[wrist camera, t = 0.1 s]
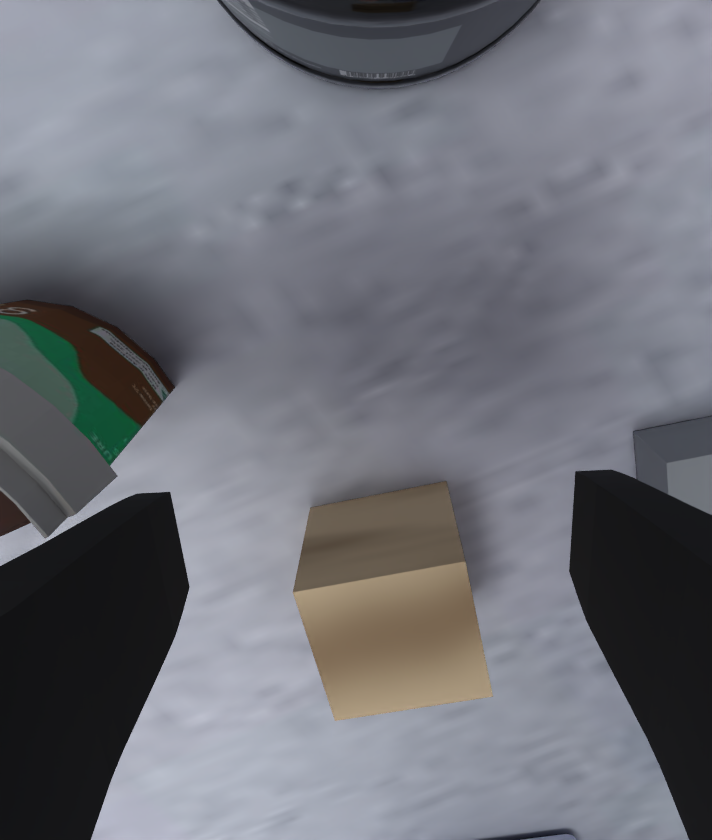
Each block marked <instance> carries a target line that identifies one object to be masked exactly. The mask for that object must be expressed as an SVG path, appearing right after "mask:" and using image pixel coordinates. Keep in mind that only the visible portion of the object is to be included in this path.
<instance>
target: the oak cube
mask: <svg viewBox="0 0 712 840" xmlns="http://www.w3.org/2000/svg"><path fill="white" fill-rule="evenodd" d="M293 594H294V597H295V600H296V603H297V606H298V609H299V612H300V616H301V619H302V622H303V625H304V628H305V631H306V634H307V637H308V640H309V643H310V646H311V649H312V652H313V655H314V658H315V661H316V664H317V667H318V670H319V673H320V676H321V679H322V682H323V686H324V689H325V692H326V695H327V698H328V701H329V704H330V707H331V710H332V713H333V716H334V719H335V721H337V720H344V719H350V718H357V717H363V716H370V715H376V714H383V713H389V712H396V711H402V710H409V709H415V708H422V707H428V706H435V705H441V704H448V703H454V702H461V701H467V700H474V699H480V698H487V697H493V695H492V690H491V685H490V680H489V675H488V670H487V665H486V660H485V655H484V650H483V645H482V641H481V636H480V631H479V626H478V621H477V616H476V611H475V606H474V601H473V596H472V591H471V586H470V581H469V577H468V572H467V567H466V562H465V558H464V553H463V549H462V545H461V541H460V537H459V532H458V528H457V524H456V520H455V516H454V511H453V507H452V503H451V499H450V495H449V490H448V486H447V482H446V481H444V482H439V483H434V484H429V485H424V486H419V487H414V488H408V489H403V490H398V491H393V492H388V493H383V494H378V495H373V496H368V497H362V498H357V499H352V500H347V501H342V502H337V503H332V504H327V505H322V506H316V507H311V508H310V512H309V516H308V521H307V526H306V531H305V536H304V541H303V546H302V551H301V555H300V560H299V565H298V570H297V575H296V580H295V585H294V589H293Z"/></svg>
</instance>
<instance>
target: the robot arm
mask: <svg viewBox="0 0 712 840" xmlns="http://www.w3.org/2000/svg"><path fill="white" fill-rule="evenodd" d="M569 572H570V575H571V578H572V581H573V584H574V587H575V590H576V593H577V596H578V599H579V602H580V604H581V607H582V610H583V613H584V615H585V618H586V621H587V623H588V625H589V627H590V629H591V631H592V633H593V635H594V637H595V639H596V641H597V643H598V645H599V647H600V649H601V650H602V652H603V654H604V656H605V658H606V660H607V662H608V664H609V666H610V668H611V670H612V672H613V674H614V676H615V678H616V679H617V681H618V683H619V685H620V687H621V689H622V691H623V693H624V695H625V697H626V699H627V701H628V702H629V704H630V706H631V708H632V710H633V712H634V714H635V716H636V718H637V720H638V722H639V724H640V726H641V727H642V729H643V731H644V733H645V735H646V737H647V739H648V741H649V743H650V746H651V748H652V750H653V752H654V754H655V756H656V758H657V761H658V763H659V765H660V767H661V770H662V772H663V775H664V777H665V780H666V782H667V785H668V787H669V790H670V792H671V795H672V797H673V800H674V802H675V805H676V807H677V810H678V812H679V815H680V817H681V820H682V822H683V825H684V827H685V830H686V832H687V835H688V838H689V840H712V515H710V514H708V513H706V512H704V511H702V510H700V509H698V508H695V507H693V506H691V505H689V504H687V503H685V502H683V501H681V500H679V499H677V498H675V497H673V496H670V495H668V494H666V493H664V492H662V491H660V490H658V489H656V488H654V487H652V486H650V485H648V484H645V483H643V482H641V481H639V480H637V479H635V478H632V477H630V476H628V475H625V474H623V473H620V472H617V471H614V470H595V471H576V472H575V488H574V504H573V520H572V536H571V552H570V569H569ZM188 591H189V583H188V578H187V573H186V568H185V563H184V558H183V553H182V548H181V543H180V538H179V533H178V528H177V523H176V518H175V514H174V509H173V504H172V499H171V494H170V492H161V493H141V494H135V495H133V496H130V497H128V498H125V499H123V500H121V501H119V502H117V503H115V504H113V505H111V506H109V507H108V508H106V509H104V510H102V511H100V512H98V513H97V514H95V515H93V516H91V517H90V518H88V519H86V520H84V521H82V522H81V523H79V524H77V525H75V526H74V527H72V528H70V529H68V530H66V531H65V532H63V533H61V534H59V535H58V536H56V537H54V538H52V539H51V540H49V541H47V542H45V543H43V544H42V545H40V546H38V547H36V548H34V549H32V550H30V551H28V552H26V553H25V554H23V555H21V556H19V557H17V558H15V559H13V560H11V561H9V562H7V563H6V564H4V565H2V566H0V840H91V837H92V834H93V831H94V828H95V825H96V822H97V819H98V817H99V814H100V811H101V808H102V805H103V802H104V799H105V796H106V793H107V790H108V787H109V784H110V782H111V779H112V776H113V774H114V772H115V769H116V767H117V764H118V762H119V759H120V757H121V754H122V752H123V750H124V748H125V745H126V743H127V741H128V739H129V737H130V735H131V732H132V730H133V728H134V726H135V724H136V722H137V719H138V717H139V715H140V713H141V711H142V708H143V706H144V704H145V702H146V700H147V698H148V695H149V693H150V691H151V689H152V687H153V685H154V682H155V680H156V678H157V676H158V674H159V672H160V669H161V667H162V665H163V663H164V660H165V658H166V656H167V654H168V651H169V649H170V647H171V645H172V642H173V640H174V638H175V635H176V632H177V629H178V626H179V622H180V619H181V616H182V613H183V609H184V605H185V602H186V598H187V594H188ZM522 840H576V838H575V837H574V836H572V835H569V834H561V835H554V836H546V837H538V838H530V839H522Z"/></svg>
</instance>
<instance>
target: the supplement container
mask: <svg viewBox="0 0 712 840" xmlns="http://www.w3.org/2000/svg"><path fill="white" fill-rule="evenodd" d="M217 1H218V2H219V4H220V5H221V6H222V7H223V8H224V10H225V11H226V12H227V13H228V14H229V15H230V16H231V18H232V19H233V20H234V21H235V22H236V23H237V25H238V26H239V27H241V28H242V29H243V30H244V31H245V32H246V33H247V34H248V35H249V36H250V37H251V38H252V39H253V40H254V41H255V42H257V43H258V44H259V45H261V46H262V47H263V48H265V49H266V50H267V51H268V52H270V53H271V54H272V55H274V56H275V57H277V58H278V59H280V60H282V61H283V62H285V63H287V64H288V65H290V66H292V67H293V68H296V69H298V70H300V71H302V72H304V73H306V74H308V75H311V76H313V77H316V78H319V79H322V80H325V81H328V82H331V83H336V84H340V85H345V86H350V87H359V88H370V89H377V88H396V87H403V86H410V85H415V84H419V83H422V82H426V81H430V80H433V79H436V78H439V77H441V76H444V75H446V74H449V73H451V72H454V71H456V70H457V69H459V68H461V67H463V66H465V65H467V64H469V63H471V62H473V61H474V60H476V59H477V58H479V57H480V56H482V55H483V54H485V53H486V52H488V51H489V50H491V49H492V48H493V47H494V46H496V45H497V44H498V43H499V42H500V41H502V40H503V39H504V38H505V37H507V36H508V35H509V34H510V33H511V32H512V31H513V30H514V29H515V28H516V27H517V26H518V25H519V24H520V23H521V22H522V21H523V20H524V19H525V18H526V17H527V16H528V15H529V14H530V13H531V12H532V11H533V9H534V8H535V7H536V6H537V4H538V3H539V2H540V1H541V0H217Z"/></svg>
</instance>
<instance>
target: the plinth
mask: <svg viewBox="0 0 712 840" xmlns="http://www.w3.org/2000/svg"><path fill="white" fill-rule="evenodd" d="M633 433H634V445H635V457H636V470H637V480H639V481H641V482H643V483H645V484H648V485H650V486H652V487H654V488H656V489H658V490H660V491H662V492H664V493H666V494H668V495H670V496H673V497H675V498H677V499H679V500H681V501H683V502H685V503H687V504H689V505H691V506H693V507H695V508H698V509H700V510H702V511H704V512H706V513H708V514H710V515H712V416H710V417H705V418H700V419H695V420H690V421H685V422H680V423H675V424H670V425H665V426H660V427H655V428H650V429H645V430H640V431H635V432H633Z"/></svg>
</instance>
